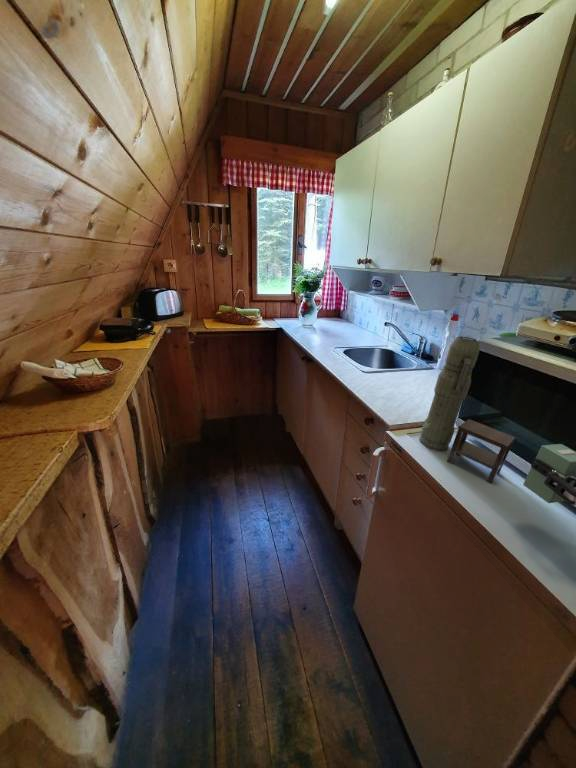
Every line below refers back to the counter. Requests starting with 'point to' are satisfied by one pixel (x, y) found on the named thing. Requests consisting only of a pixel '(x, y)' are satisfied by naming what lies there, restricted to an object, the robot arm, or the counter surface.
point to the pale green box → (560, 461)
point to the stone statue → (450, 393)
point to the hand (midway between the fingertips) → (544, 461)
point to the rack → (479, 453)
